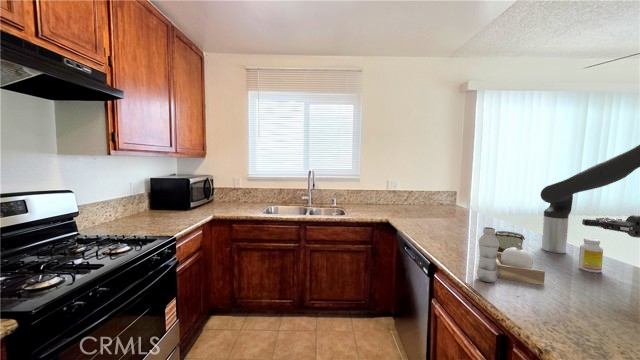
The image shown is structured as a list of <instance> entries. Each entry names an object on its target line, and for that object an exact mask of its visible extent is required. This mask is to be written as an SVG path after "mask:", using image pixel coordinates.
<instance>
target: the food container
mask: <svg viewBox="0 0 640 360" xmlns="http://www.w3.org/2000/svg"><path fill="white" fill-rule="evenodd" d="M494 236H495V237H496V238H497V240H498V241H499V248H498V252H501V253H503V251H504V250H505V249H507V248H511V247H516V246H517V244H521V245H522V246H523V245H524V241H526V238H525V235H524V234H521V233H517V232H513V231H508V230H507V231H505V230H498V231H497V230H495V234H494Z"/></svg>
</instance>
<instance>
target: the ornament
mask: <svg viewBox="0 0 640 360" xmlns="http://www.w3.org/2000/svg"><path fill="white" fill-rule="evenodd" d="M533 262H534V261H533V257H532V256H531V254H530V253H529V252H528V251H527V250H525V249H523V244H522V245H521V244H517V246H516V247H511V248H507V249H505V250H504V251H503V253H502V255H501V263H502V265H507V266H515V267H522V268H529V269H533V264H534V263H533Z"/></svg>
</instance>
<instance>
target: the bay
mask: <svg viewBox="0 0 640 360" xmlns="http://www.w3.org/2000/svg"><path fill="white" fill-rule="evenodd" d="M501 255H502V253H501V252H497V258H496V268H497V269H496V270H497V275H498V276H497V279H503V280H509V281H516V282H522V283H530V284H536V285H543V286H545V279H546V278H545V277H546V271H545V270H542V269H536V268H532V269H529V268H522V267H515V266H507V265H502V263H501Z"/></svg>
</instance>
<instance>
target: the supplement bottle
mask: <svg viewBox="0 0 640 360" xmlns="http://www.w3.org/2000/svg"><path fill="white" fill-rule="evenodd" d="M600 244H601V240H600V239H596V238H591V237H584V238H583V243H581V244H580V245H579V257H578V268H579V269H580V270H582V271H585V272H590V273H595V274H597V273H601V272H602V270H603V269H602V268H603V255H604V249H603V247H601V246H600Z"/></svg>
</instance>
